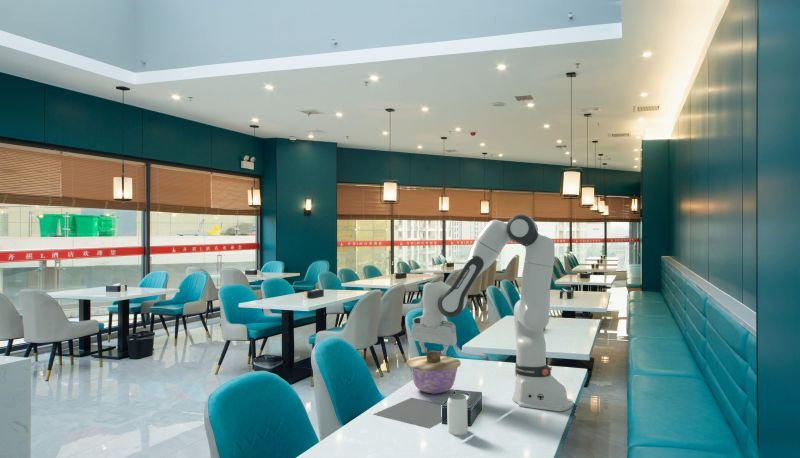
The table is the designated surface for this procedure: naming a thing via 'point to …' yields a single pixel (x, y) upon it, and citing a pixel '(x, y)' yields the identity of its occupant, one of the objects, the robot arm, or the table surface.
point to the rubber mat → (414, 412)
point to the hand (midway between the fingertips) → (433, 353)
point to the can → (457, 414)
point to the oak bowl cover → (433, 362)
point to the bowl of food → (433, 380)
